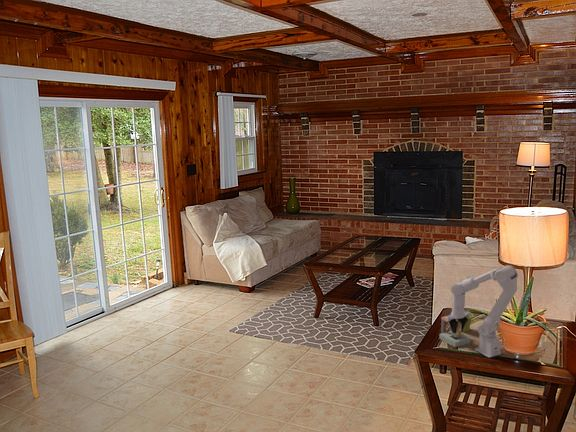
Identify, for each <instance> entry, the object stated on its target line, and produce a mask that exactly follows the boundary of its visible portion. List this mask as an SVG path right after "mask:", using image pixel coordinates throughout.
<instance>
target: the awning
mask: <svg viewBox="0 0 576 432" xmlns="http://www.w3.org/2000/svg"><path fill="white" fill-rule="evenodd" d="M446 316H447V315H445V316H441V317H440V318H441V324H440V325H441V326H440V327H441V328H440V334H441V333H445V332H447V323H449V322H448V321H446V320H445V317H446ZM456 320H458V319H456ZM448 327H449V331H452V330H451V326H450V323H449V326H448ZM449 331H448V332H449Z"/></svg>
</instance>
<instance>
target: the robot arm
mask: <svg viewBox="0 0 576 432" xmlns="http://www.w3.org/2000/svg"><path fill="white" fill-rule="evenodd" d="M518 276H519V274H518V272H517V270H516V268H515V267H514V265H513V266H512V265H511V264H507V265H505V266H504V267H503V266H501V267H500V266H499V267H497V268H495V269H491V270H490V271H487V272H485V273H483V274H481V275H479V276H477V277H476V276H473V275H472V276H471V275H469V276H467V277H466V278H465V279H463V280H462V279H460V280H458V282H457V283H454V284H452V285H451V287H450V291H451V294H452V304H451V305H452V309H451V312H450V314H449V315H445V316H446V317H445V320H446V321H448V322H447V323H449V324H450V326H451V330H452V333H454V334H456V330H457V325H458V323H459V322H461V323H462V327H461V333H463V332H462V331H463V328H464V326H465V324H466V322H467V321H468V318H466V316H470V315H471V313H472V312H470V311H468V310H467V312H464V311H465V303H466V302H465V301H466V293H468V292H470V291H472V290H474V289H478V288H479V286H480V284H482V283H484V282H487V281H490V280H492V281H495V282H497V283H498V284H499V286H500V287H501V288H502V291H501V293H500V294H499V296H498V298H497V300H496V301H495V303H494V305H493V306H492V308H491V310H490V312H489V313H488V315H487V316H486V317H485V318H484V319H483V320H482V322H481V323H479V324H478V325H477V328H476V329H477V332H478V334H479V337H478V347H475V348H474V351H475V352H478V353H479V354H482V355H484V356H485V357H487V358H493V357H497V356H500V355H502V352H501V347H502V346H501V345H502V344H501V343H502V342H501V340H500V338H498V337H497V335H496V331H497V330H498V329H499V324H500V321H501V320H500V319H501V317H502V316H503V313H504V312H505V311H506V309H507V308H508V306H509V304H510V303H511V301H512V299H513V298H514V296H515V294H516V293H517V290H518V278H519V277H518ZM456 319H458V321H456Z"/></svg>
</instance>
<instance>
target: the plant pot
mask: <svg viewBox="0 0 576 432" xmlns="http://www.w3.org/2000/svg"><path fill="white" fill-rule="evenodd" d="M467 311H468V310H467ZM467 311H466V310H464V312H467ZM470 313H471V315H470V316H466V318H468V321H467V322H466V324H465V326H464V328H463V331H462V332H461V333H467V332H469V331H470V328H471V323H472V319H473V318H474V314H473V313H472V312H470ZM456 321H458V320H456Z"/></svg>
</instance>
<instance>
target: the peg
mask: <svg viewBox="0 0 576 432" xmlns="http://www.w3.org/2000/svg"><path fill="white" fill-rule="evenodd" d="M461 327H462V323H461V322H459V323H458V325H457V330H456V334H453V336H454V337H456V338H460V337H461V334H462V332H461Z"/></svg>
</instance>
